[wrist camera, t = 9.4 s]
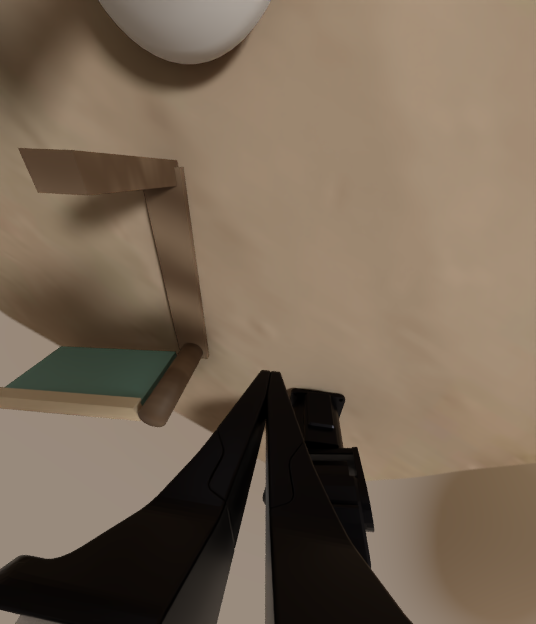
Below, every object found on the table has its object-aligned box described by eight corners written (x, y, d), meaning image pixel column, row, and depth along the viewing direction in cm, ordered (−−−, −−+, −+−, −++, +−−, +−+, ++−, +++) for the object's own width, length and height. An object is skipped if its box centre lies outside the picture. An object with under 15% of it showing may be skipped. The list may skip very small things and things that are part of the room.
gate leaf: (174, 349, 25) (133, 408, 19) (179, 361, 26) (140, 421, 20) (59, 344, 27) (-13, 395, 21) (67, 355, 28) (0, 408, 21)
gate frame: (209, 356, 27) (173, 429, 19) (183, 353, 27) (137, 424, 19) (182, 160, 16) (81, 150, 9) (141, 159, 17) (9, 147, 9)
